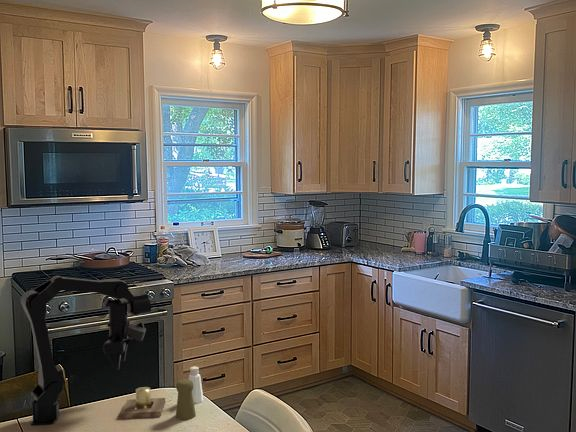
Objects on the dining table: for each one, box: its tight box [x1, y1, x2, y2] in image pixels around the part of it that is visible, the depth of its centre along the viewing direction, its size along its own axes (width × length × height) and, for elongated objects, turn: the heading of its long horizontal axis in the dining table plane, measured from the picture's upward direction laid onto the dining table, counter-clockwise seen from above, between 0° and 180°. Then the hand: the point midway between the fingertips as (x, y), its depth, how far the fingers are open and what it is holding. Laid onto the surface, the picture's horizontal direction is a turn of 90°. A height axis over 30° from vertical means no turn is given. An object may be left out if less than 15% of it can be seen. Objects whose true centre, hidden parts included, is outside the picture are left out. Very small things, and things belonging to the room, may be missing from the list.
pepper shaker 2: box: [188, 365, 204, 405], centre depth 187 cm, size 5×5×11 cm
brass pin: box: [135, 386, 152, 409], centre depth 179 cm, size 4×4×6 cm
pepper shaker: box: [175, 378, 197, 421], centre depth 175 cm, size 6×6×11 cm
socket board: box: [120, 397, 166, 419], centre depth 180 cm, size 12×11×2 cm
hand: (119, 365), depth 186 cm, fingers open, 9 cm apart
